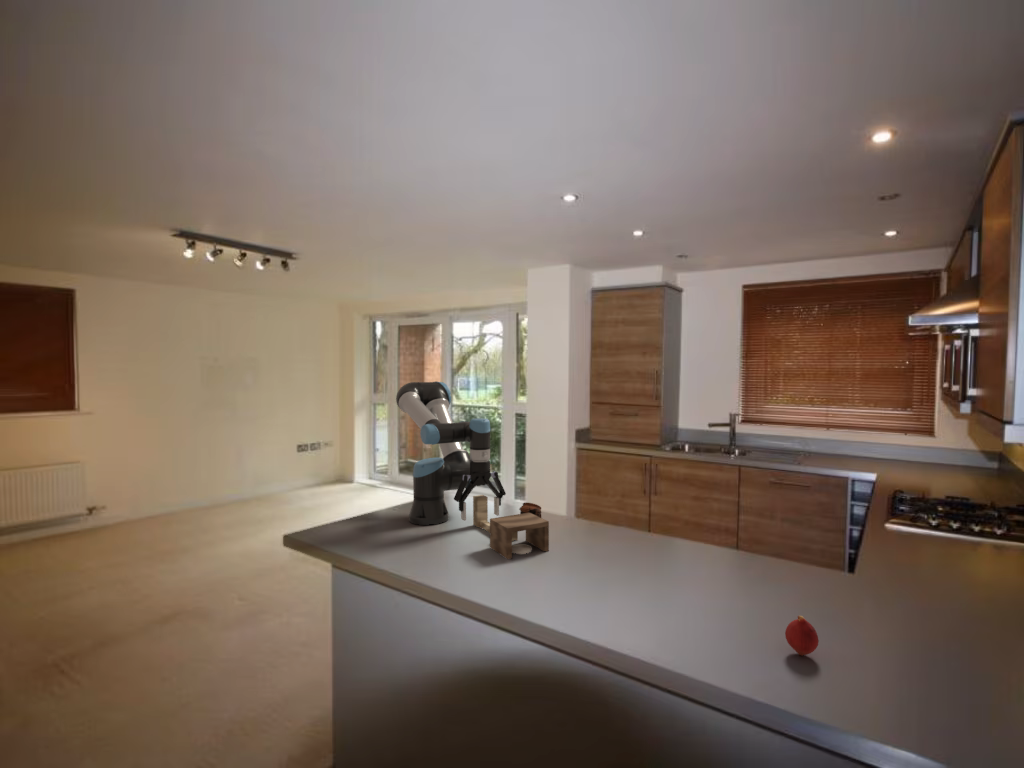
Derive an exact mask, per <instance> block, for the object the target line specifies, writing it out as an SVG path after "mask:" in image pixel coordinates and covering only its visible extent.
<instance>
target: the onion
mask: <svg viewBox="0 0 1024 768" xmlns="http://www.w3.org/2000/svg"><path fill="white" fill-rule="evenodd" d="M784 633H785V640H786V642H787V644H788V645H789V646H790V647H791V648H792V649H793V650H794V651H795V652H796V653H797V654H798V655H799V656H803V655H804V656H806V655H810V654H811V653H813V652H815V650H816V649H817V647H818V646H819V641H820V640H819V635H818V633H817V631H816V629H815V627H814V626H813V625H812V624H811V623H810V622H809V621H807V619H806V618H805V617H804V616H803V615H797V618H796V619H794V620H792V621H790V622H789V624H787V626H786V628H785V632H784Z"/></svg>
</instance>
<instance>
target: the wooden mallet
mask: <svg viewBox="0 0 1024 768" xmlns="http://www.w3.org/2000/svg"><path fill="white" fill-rule="evenodd" d="M472 497H473V498H472V500H473V501H472V508H473V510H472V512H473V513H472V518H473V520H472V521H473V524H472V526H474V525H475V526H477V527H481V528H480V529H482V528H483V529H485V530H486V531H488V532H489V533H488V532H487V533H488V534H490V521H488V518H489V517H488V516H489V514H488V510H489V507H488V506H489V505H488V504H489V503H488V500H489V499H488V496H486V495H484V494H479V495H473V496H472ZM475 526H474V527H475ZM477 527H476V528H477ZM483 529H482V530H483ZM485 530H484V531H485ZM486 531H485V532H486ZM518 534H519V531H518V532H512V542H515V541H514V540H516V541H518V540H519V539H518Z"/></svg>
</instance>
